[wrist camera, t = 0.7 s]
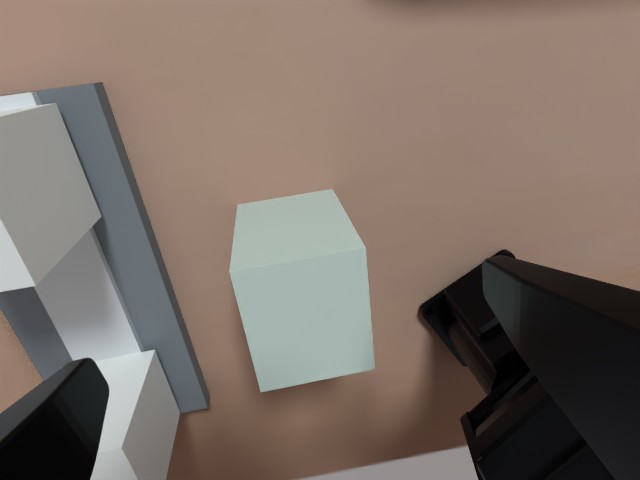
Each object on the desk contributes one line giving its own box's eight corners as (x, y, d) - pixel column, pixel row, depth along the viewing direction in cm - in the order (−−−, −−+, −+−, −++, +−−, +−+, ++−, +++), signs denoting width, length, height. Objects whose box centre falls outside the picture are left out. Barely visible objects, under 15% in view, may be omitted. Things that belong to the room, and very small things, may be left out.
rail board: (209, 395, 25) (193, 516, 19) (82, 421, 25) (18, 555, 18) (101, 82, 17) (2, 100, 10) (-96, 109, 16) (-337, 147, 10)
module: (342, 284, 23) (374, 369, 17) (259, 299, 23) (260, 392, 17) (332, 188, 21) (365, 247, 14) (237, 204, 20) (229, 272, 14)
